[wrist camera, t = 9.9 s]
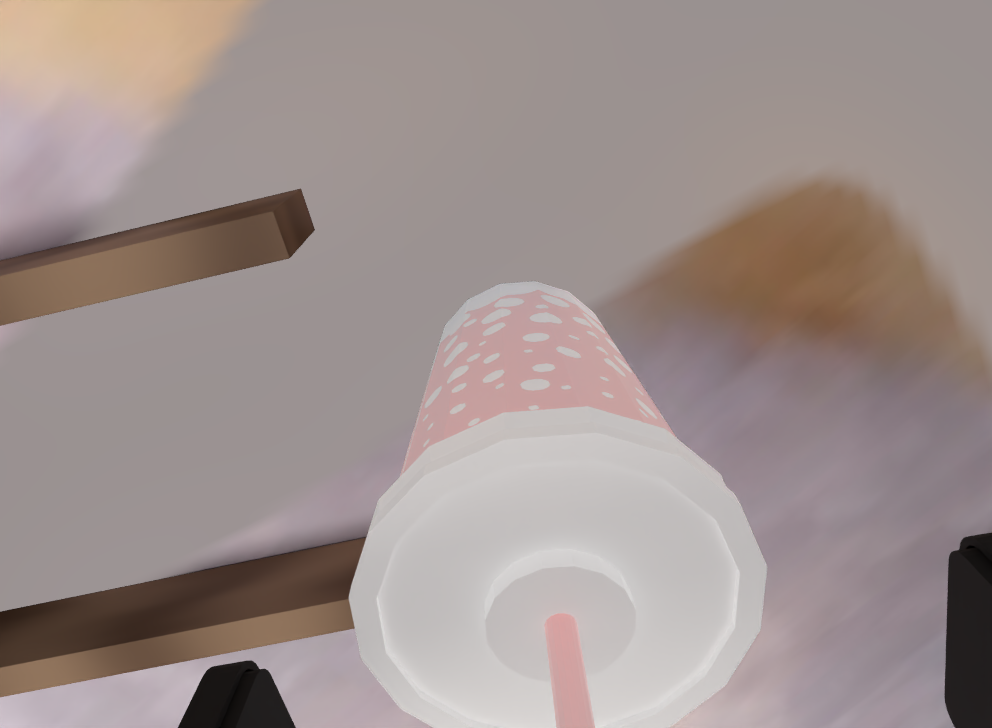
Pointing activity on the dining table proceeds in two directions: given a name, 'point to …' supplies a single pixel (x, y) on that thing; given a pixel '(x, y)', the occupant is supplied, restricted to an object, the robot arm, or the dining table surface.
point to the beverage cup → (551, 538)
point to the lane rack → (195, 596)
